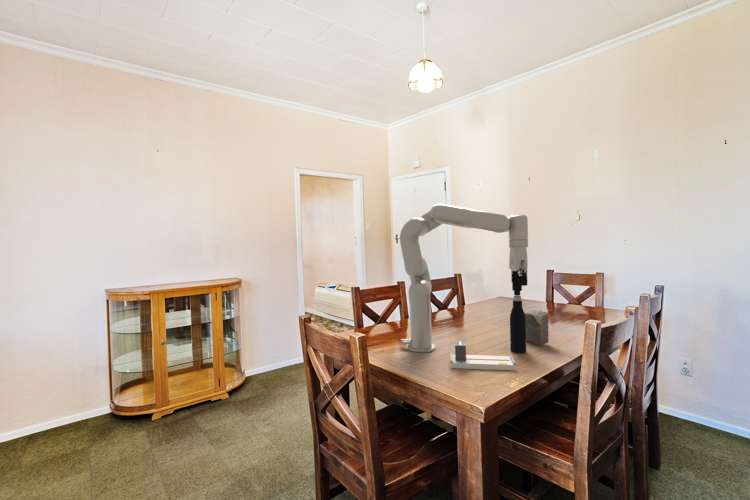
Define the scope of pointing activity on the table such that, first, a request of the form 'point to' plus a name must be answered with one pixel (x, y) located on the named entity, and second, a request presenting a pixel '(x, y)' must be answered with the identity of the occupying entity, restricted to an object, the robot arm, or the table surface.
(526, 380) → the table surface
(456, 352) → the fader knob
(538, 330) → the geological specimen
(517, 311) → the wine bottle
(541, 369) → the table surface
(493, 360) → the fader panel
